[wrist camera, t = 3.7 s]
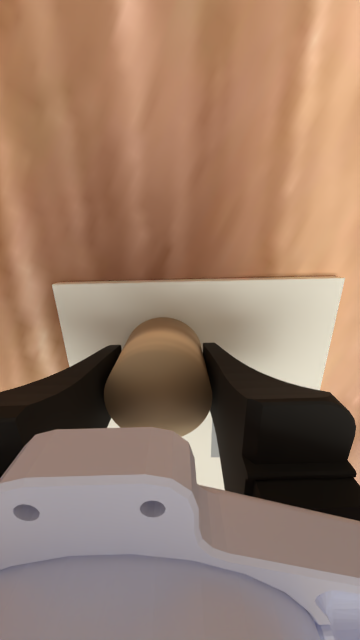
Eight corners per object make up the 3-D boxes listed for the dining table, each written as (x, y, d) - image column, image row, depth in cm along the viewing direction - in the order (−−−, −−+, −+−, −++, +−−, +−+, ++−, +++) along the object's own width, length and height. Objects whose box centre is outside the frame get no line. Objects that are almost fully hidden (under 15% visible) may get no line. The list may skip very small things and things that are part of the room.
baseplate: (59, 282, 13) (51, 284, 12) (335, 275, 13) (345, 278, 12) (108, 524, 20) (105, 536, 19) (283, 519, 20) (288, 531, 19)
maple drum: (111, 336, 12) (82, 376, 9) (183, 304, 12) (186, 333, 8) (147, 395, 14) (135, 452, 10) (212, 369, 13) (227, 420, 9)
